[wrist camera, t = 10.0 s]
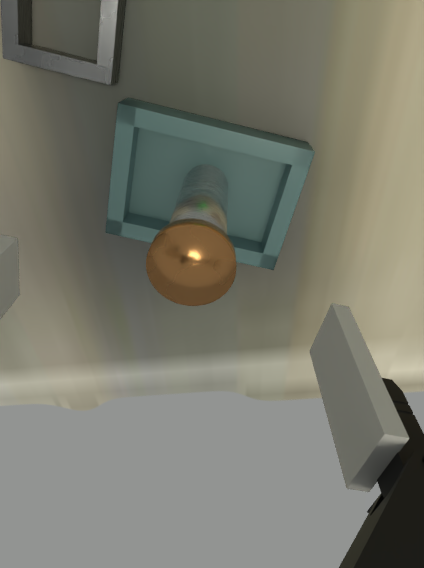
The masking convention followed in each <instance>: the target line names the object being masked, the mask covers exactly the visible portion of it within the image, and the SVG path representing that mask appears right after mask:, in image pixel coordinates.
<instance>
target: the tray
mask: <svg viewBox="0 0 424 568" xmlns="http://www.w3.org/2000/svg"><path fill="white" fill-rule="evenodd" d="M314 153H315V151H314V150H313V149H312V147H311V146H310V145H309V143H308V142H305V141H301V140H297V139H292V138H288V137H284V136H280V135H276V134H272V133H268V132H264V131H260V130H256V129H252V128H248V127H244V126H240V125H236V124H232V123H228V122H224V121H220V120H216V119H212V118H208V117H204V116H200V115H196V114H192V113H188V112H184V111H180V110H176V109H172V108H168V107H164V106H160V105H156V104H152V103H148V102H144V101H140V100H136V99H132V98H126V99H125V100H123V101H121V102H119V103H118V108H117V118H116V129H115V139H114V150H113V160H112V170H111V181H110V191H109V202H108V212H107V223H106V233H109V234H113V235H118V236H122V237H127V238H131V239H136V240H140V241H145V242H149V243H152V242H153V239H154V238H155V236H156V235H157V233H158V232H159V231H160V230H161V229H162V228H163V227H165V226H166V225H168V224H169V223H170V220H171V217H172V214H173V211H174V208H175V206H176V203H177V200H178V197H179V194H180V191H181V188H182V185H183V183H184V180H185V177H186V175H187V174H188V172H189V171H190V170H191V169H193V168H194V167H196V166H199V165H204V164H207V165H212V166H215V167H217V168H218V169H220V170H221V171H222V172H223V173H224V175H225V177H226V179H227V182H228V206H227V236H228V237H229V238H230V240H231V242H232V243H233V246H234V249H235V253H236V262H240V263H244V264H249V265H253V266H258V267H262V268H267V269H271V270H274V267H275V264H276V261H277V258H278V256H279V253H280V250H281V247H282V244H283V241H284V238H285V236H286V233H287V230H288V227H289V224H290V221H291V219H292V216H293V213H294V210H295V207H296V204H297V201H298V199H299V196H300V193H301V190H302V187H303V184H304V182H305V179H306V176H307V173H308V170H309V167H310V164H311V162H312V159H313V156H314Z"/></svg>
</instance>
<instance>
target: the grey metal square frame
mask: <svg viewBox="0 0 424 568" xmlns="http://www.w3.org/2000/svg"><path fill="white" fill-rule="evenodd" d="M125 4H126V0H101V10H100V25H99V40H98V54H97V61H95V60H91V59H87V58H83V57H79V56H75V55H71V54H67V53H63V52H59V51H56V50H52V49H48V48H44V47H40V46H36V45H32V10H31V0H1V20H2V45H3V58H4V59H8V60H12V61H16V62H20V63H24V64H28V65H32V66H36V67H40V68H44V69H48V70H52V71H56V72H60V73H64V74H68V75H72V76H76V77H80V78H84V79H88V80H92V81H96V82H100V83H104V84H108V85H113V84H116V83H118V79H119V68H120V58H121V47H122V36H123V26H124V15H125Z"/></svg>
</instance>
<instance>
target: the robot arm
mask: <svg viewBox="0 0 424 568" xmlns="http://www.w3.org/2000/svg"><path fill="white" fill-rule="evenodd" d="M19 295H20V290H19V259H18V238H15V237H10V236H5V235H1V234H0V319H1V318H2V316H3V315H4V314H5V313H6V311H7V310H8V309H9V308H10V306H11V305H12V304H13V303H14V301H15V300H16V299H17V297H18V296H19ZM310 355H311V358H312V362H313V366H314V369H315V373H316V377H317V380H318V384H319V388H320V392H321V395H322V399H323V402H324V406H325V410H326V413H327V417H328V421H329V425H330V428H331V432H332V435H333V440H334V443H335V447H336V450H337V454H338V458H339V462H340V465H341V469H342V473H343V476H344V480H345V483H346V488H347V489H353V490H359V491H365V492H370V490H371V489H372V488H373V486H374V485H375V484H376V482H377V481H378V484H379V487H380V490H381V494H380V496H379V497H378V498H377V499H376V501H375V502H374V503H373V505H372V506H371V507H370V508H369V510H368V511H367V512H368V513H369V514H368V516H367V518H366V520H365V521H364V523H363V525H362V527H361V529H360V531H359V532H358V534H357V536H356V538H355V540H354V541H353V543H352V545H351V547H350V549H349V551H348V552H347V554H346V556H345V558H344V559H343V561H342V563H341V565H340V567H339V568H424V434H423V432H422V430H421V428H420V426H419V424H418V422H417V420H416V418H415V416H414V415H413V412H412V410H411V408H410V406H409V405H408V402H407V400H406V398H405V396H404V394H403V392H402V390H401V389H400V388H399V387H398V386H397V385H396V384H395V383H394V382H393V381H392V380H390V379H385V378H381V376H380V373H379V371H378V369H377V367H376V365H375V363H374V360H373V358H372V356H371V354H370V352H369V349H368V347H367V345H366V343H365V341H364V339H363V336H362V334H361V332H360V330H359V328H358V326H357V323H356V321H355V319H354V317H353V315H352V313H351V310H350V308H349V307H348V306H343V305H338V304H333V303H332V304H331V306H330V308H329V310H328V313H327V315H326V317H325V319H324V321H323V323H322V325H321V328H320V330H319V332H318V334H317V336H316V338H315V341H314V343H313V345H312V347H311V349H310Z"/></svg>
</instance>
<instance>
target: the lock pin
mask: <svg viewBox="0 0 424 568" xmlns="http://www.w3.org/2000/svg"><path fill="white" fill-rule="evenodd" d="M227 206H228V182H227V179H226V177H225V175H224V173H223V172H222V171H221V170H220V169H218V168H217V167H215V166H212V165H207V164H204V165H199V166H196V167H194V168H193V169H191V170H190V171H189V172H188V174H187V175H186V177H185V180H184V183H183V185H182V188H181V191H180V194H179V197H178V200H177V203H176V206H175V208H174V211H173V214H172V217H171V220H170V223H169V224H168V225H166V226H165V227H163V228H162V229H161V230H160V231H159V232H158V233H157V235H156V236H155V238H154V239H153V242H152V244H151V247H150V249H149V252H148V254H147V259H146V270H147V274H148V277H149V279H150V281H151V283H152V285H153V286H154V288H155V289H156V290H157V291H158V292H159V293H160V294H161V295H163V296H164V297H165V298H167V299H169V300H171V301H173V302H175V303H178V304H182V305H188V306H199V305H205V304H208V303H211V302H213V301H215V300H217V299H219V298H220V297H222V296H223V295H224V294H225V293H226V292H227V291H228V290H229V288H230V287H231V285H232V283H233V281H234V278H235V274H236V253H235V249H234V246H233V243H232V242H231V240H230V238H229V237H228V236H227Z"/></svg>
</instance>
